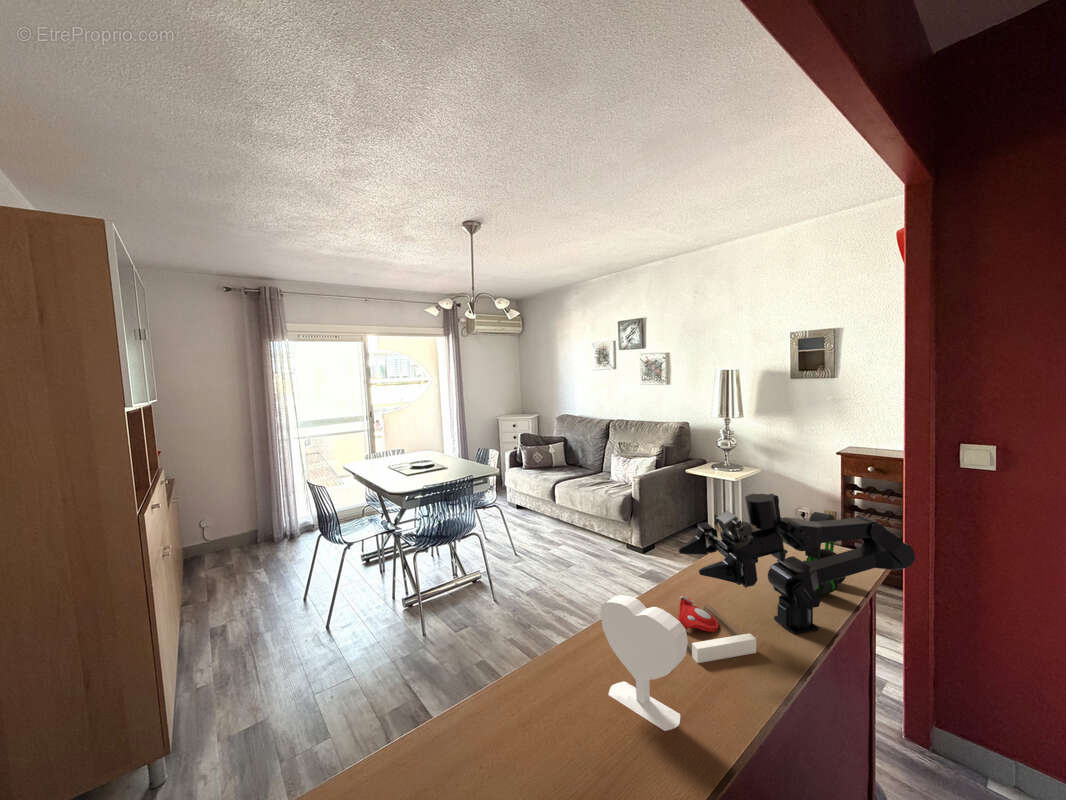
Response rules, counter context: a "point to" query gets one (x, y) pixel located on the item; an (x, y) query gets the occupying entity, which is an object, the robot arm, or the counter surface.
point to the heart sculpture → (644, 653)
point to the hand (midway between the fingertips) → (688, 561)
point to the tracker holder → (696, 617)
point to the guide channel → (722, 642)
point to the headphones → (823, 556)
